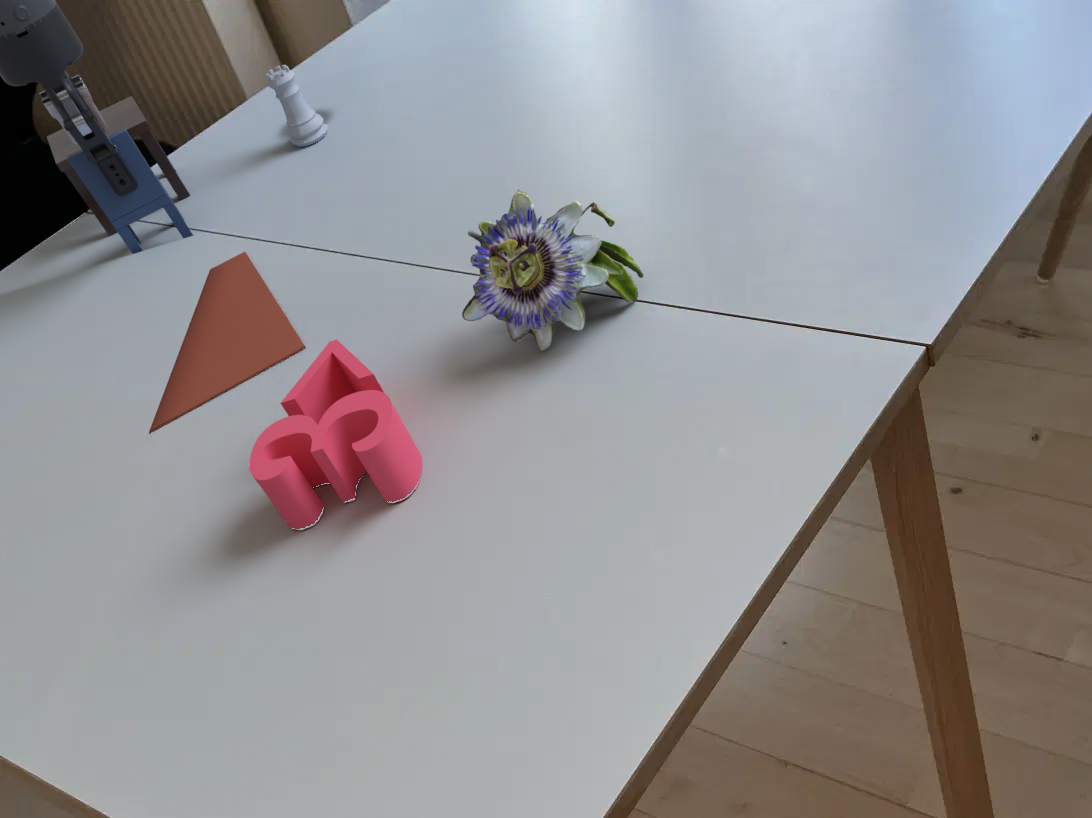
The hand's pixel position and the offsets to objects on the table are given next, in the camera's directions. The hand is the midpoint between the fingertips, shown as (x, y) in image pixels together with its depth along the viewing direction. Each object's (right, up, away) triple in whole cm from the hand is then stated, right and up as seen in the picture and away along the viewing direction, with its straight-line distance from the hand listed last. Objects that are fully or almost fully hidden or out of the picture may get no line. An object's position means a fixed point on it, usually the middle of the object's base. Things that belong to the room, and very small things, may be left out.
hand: (127, 188), depth 108 cm
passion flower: (+44, -16, -23) cm, 52 cm away
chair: (+1, -4, +6) cm, 7 cm away
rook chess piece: (+14, +10, +16) cm, 23 cm away
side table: (-5, +3, +16) cm, 17 cm away
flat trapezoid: (+11, -16, -10) cm, 22 cm away
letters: (+30, -27, -28) cm, 49 cm away
